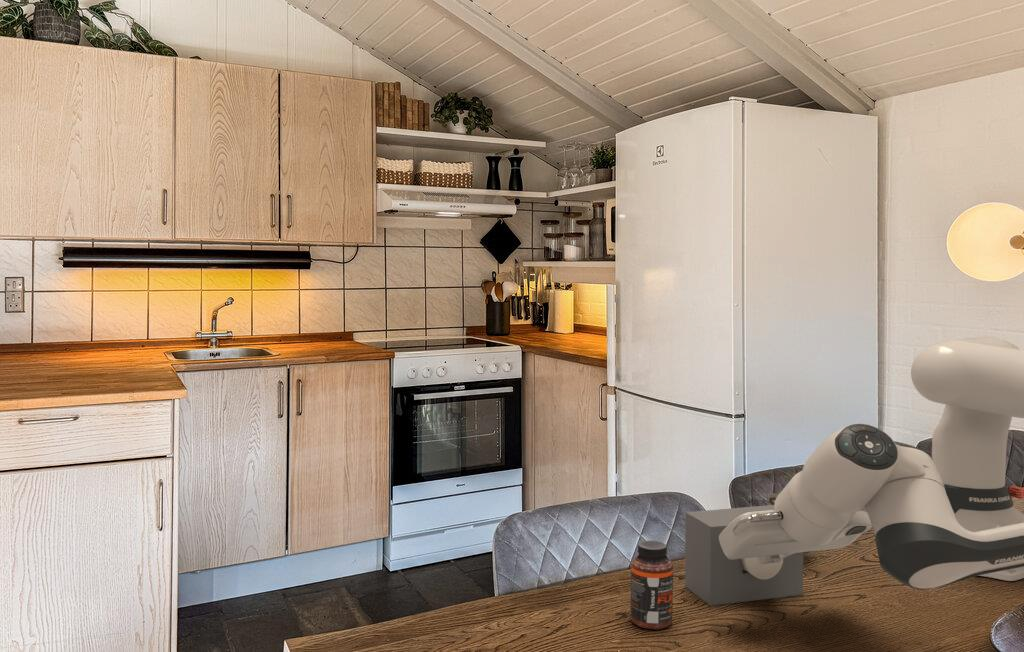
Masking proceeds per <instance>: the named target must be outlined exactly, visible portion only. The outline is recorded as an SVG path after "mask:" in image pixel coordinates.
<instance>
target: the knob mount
mask: <svg viewBox="0 0 1024 652" xmlns="http://www.w3.org/2000/svg"><path fill="white" fill-rule="evenodd" d="M766 510H774V505H759V506H758V505H757V506H756V505H755V506H744V507H734V508H733V507H731V508H719V509H710V510H698V511H697V510H696V511H695V510H694V511H686V512H685V535H684V537H685V544H684V545H685V546H684V547H685V549H684V550H685V551H684V552H685V555H684V556H685V557H684V559H685V562H684V564H685V565H684V587H685V588H687V589H688V590H690V592H692V594H694V595H696V596H697V597H698V598H700V599H701V600H702V601H703V602H705V603H706V604H707V605H708V606H712V607H713V606H719V605H728V604H737V603H745V602H751V601H752V602H753V601H754V602H755V601H761V600H770V599H778V598H787V597H796V596H803V594H804V593H803V592H804V552H799V553H794V554H792V555H789V556H787V557H785V558H783V564H782V567H781V569H780V571H779V572H778V573H777V574H776V575H775V576H774V577H772V578H770V579H766V580H763V579H758V578H756V577H755V576H753V575H752V574H750V573H748V572H747V571H745V570H743V565H742V562H741V559H734V560H730V559H728V558H727V557H726V556H725V554H724V552H723V550H722V548H721V545H720V542H719V535H720V533H721V532H722V531H723V530H724V529H725V528H726V527H727V526H728V525H729V524H730V523H731V522H732V521H733V520H734V519H735V518H737V517H738V516H740V515H742V514H744V513H748V512H755V511H766Z"/></svg>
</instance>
